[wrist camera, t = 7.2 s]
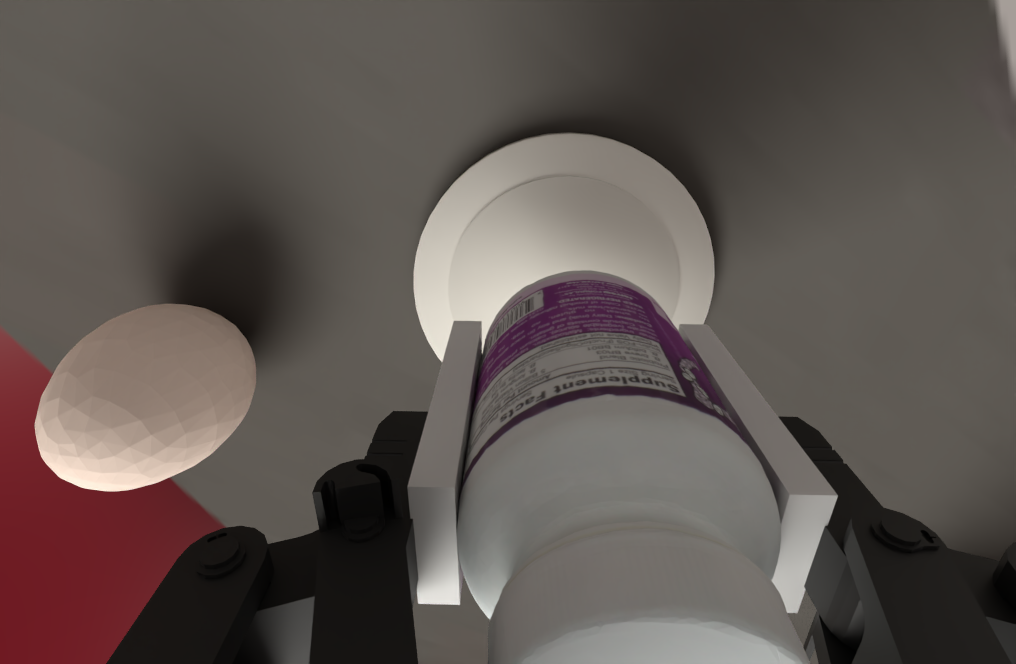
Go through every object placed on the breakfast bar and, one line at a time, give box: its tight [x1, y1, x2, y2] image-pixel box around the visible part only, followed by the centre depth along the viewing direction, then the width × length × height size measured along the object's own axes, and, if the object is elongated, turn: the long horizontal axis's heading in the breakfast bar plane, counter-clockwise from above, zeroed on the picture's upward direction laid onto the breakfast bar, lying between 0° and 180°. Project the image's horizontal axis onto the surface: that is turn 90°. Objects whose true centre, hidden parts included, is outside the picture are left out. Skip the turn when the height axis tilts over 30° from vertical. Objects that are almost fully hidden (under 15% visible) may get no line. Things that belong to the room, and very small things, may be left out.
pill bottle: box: [457, 270, 811, 664], centre depth 11 cm, size 5×5×10 cm
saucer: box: [414, 132, 715, 362], centre depth 20 cm, size 11×11×1 cm
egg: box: [35, 304, 256, 491], centre depth 18 cm, size 6×6×8 cm
